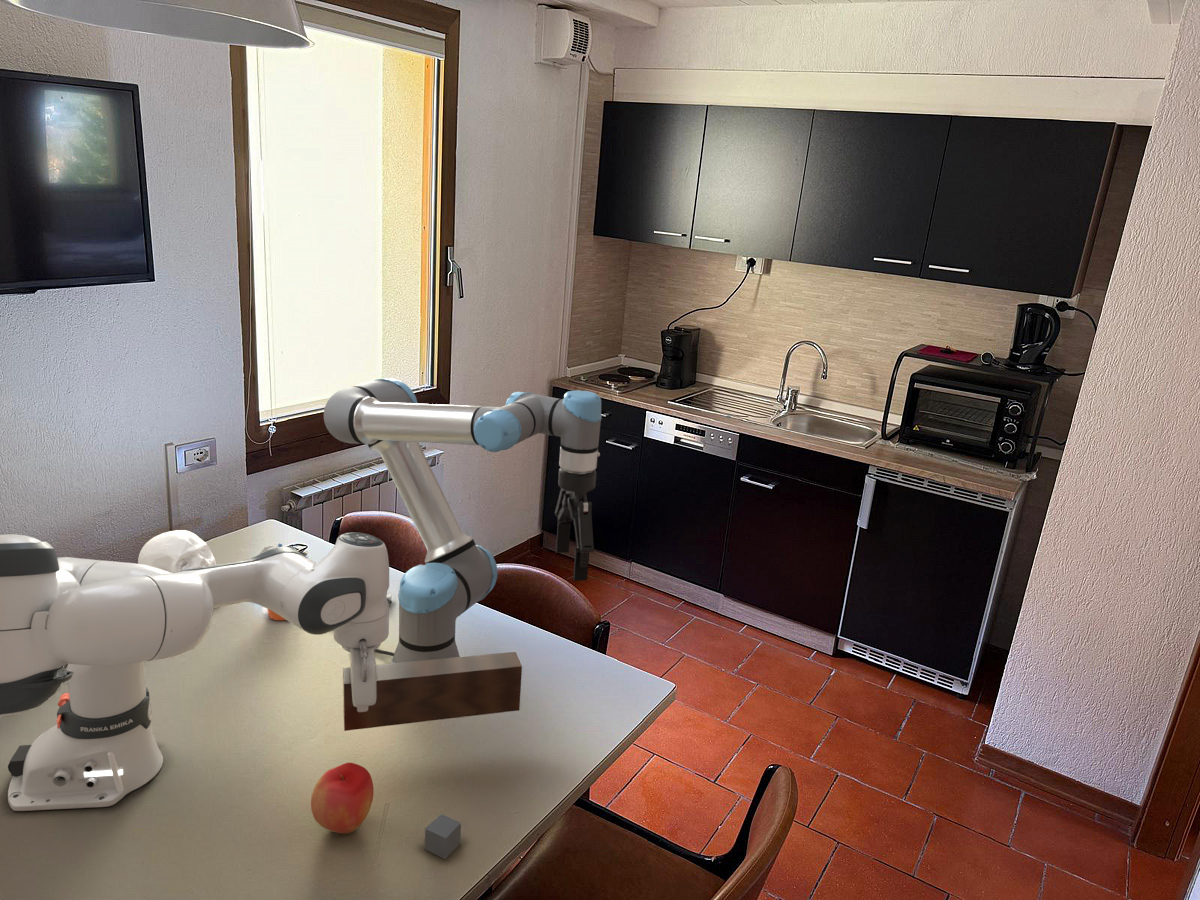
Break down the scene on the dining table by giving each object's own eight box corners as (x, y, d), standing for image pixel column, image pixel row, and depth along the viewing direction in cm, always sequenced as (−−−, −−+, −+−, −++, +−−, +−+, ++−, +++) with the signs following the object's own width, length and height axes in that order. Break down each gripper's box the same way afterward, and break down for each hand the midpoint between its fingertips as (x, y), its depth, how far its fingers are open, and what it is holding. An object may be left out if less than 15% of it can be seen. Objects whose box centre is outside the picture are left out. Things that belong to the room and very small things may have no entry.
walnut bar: (344, 731, 143) (343, 684, 140) (343, 713, 148) (342, 667, 145) (519, 710, 152) (522, 666, 150) (513, 694, 157) (516, 651, 154)
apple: (348, 797, 145) (348, 747, 142) (386, 823, 140) (386, 772, 137) (300, 828, 137) (298, 775, 134) (338, 857, 132) (337, 803, 129)
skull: (203, 615, 198) (200, 551, 194) (126, 596, 203) (122, 534, 199) (242, 593, 210) (240, 533, 206) (168, 575, 216) (165, 517, 212)
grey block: (424, 849, 135) (425, 828, 134) (440, 833, 139) (440, 813, 138) (445, 859, 134) (445, 838, 132) (460, 843, 137) (461, 822, 136)
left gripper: (386, 657, 133) (385, 733, 137) (376, 596, 151) (376, 665, 155) (343, 660, 131) (344, 738, 135) (339, 599, 149) (340, 668, 153)
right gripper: (615, 489, 161) (606, 591, 167) (578, 449, 183) (571, 540, 190) (577, 490, 158) (569, 594, 165) (544, 449, 181) (538, 542, 187)
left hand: (361, 698), depth 145 cm, fingers closed on walnut bar, 5 cm apart
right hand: (570, 565), depth 177 cm, fingers open, 13 cm apart
